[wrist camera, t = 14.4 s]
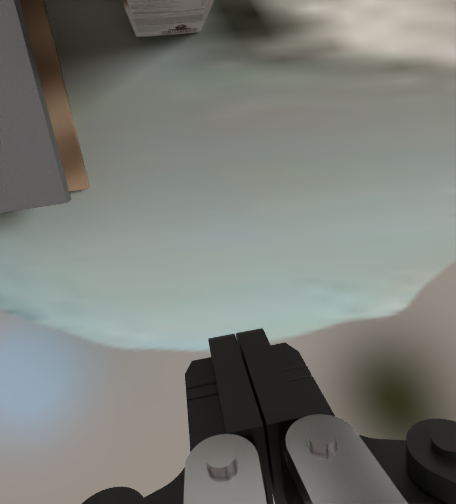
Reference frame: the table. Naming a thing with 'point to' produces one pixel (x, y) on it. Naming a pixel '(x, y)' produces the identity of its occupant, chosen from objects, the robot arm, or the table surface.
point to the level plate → (25, 123)
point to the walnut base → (55, 92)
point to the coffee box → (166, 16)
